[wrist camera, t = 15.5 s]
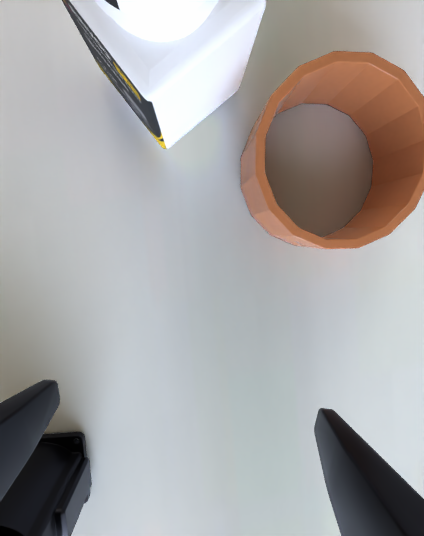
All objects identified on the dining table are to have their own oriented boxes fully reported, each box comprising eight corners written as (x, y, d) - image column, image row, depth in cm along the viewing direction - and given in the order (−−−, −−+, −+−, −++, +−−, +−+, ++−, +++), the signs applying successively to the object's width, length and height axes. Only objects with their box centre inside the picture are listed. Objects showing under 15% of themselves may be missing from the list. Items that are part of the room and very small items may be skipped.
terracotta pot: (240, 246, 19) (254, 250, 15) (240, 93, 18) (256, 46, 13) (373, 244, 20) (423, 247, 16) (384, 97, 19) (444, 55, 14)
